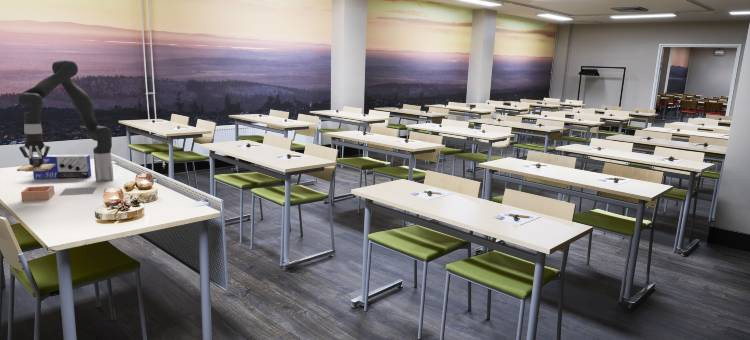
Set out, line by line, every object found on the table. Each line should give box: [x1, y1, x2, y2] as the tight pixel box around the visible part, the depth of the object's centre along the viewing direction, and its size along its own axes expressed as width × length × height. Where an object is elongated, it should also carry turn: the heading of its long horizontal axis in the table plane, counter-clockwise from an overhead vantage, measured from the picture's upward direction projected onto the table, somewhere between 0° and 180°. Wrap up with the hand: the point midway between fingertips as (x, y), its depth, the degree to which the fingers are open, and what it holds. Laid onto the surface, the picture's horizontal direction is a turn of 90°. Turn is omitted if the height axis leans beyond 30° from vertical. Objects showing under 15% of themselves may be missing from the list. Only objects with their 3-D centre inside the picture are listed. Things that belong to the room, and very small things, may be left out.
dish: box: [20, 185, 55, 203], centre depth 264 cm, size 12×12×5 cm
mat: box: [58, 186, 98, 197], centre depth 279 cm, size 16×16×1 cm
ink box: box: [32, 154, 92, 180], centre depth 310 cm, size 30×7×14 cm, turn 104°
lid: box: [16, 158, 55, 172], centre depth 261 cm, size 14×14×6 cm
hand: (36, 165), depth 262 cm, fingers closed on lid, 3 cm apart
